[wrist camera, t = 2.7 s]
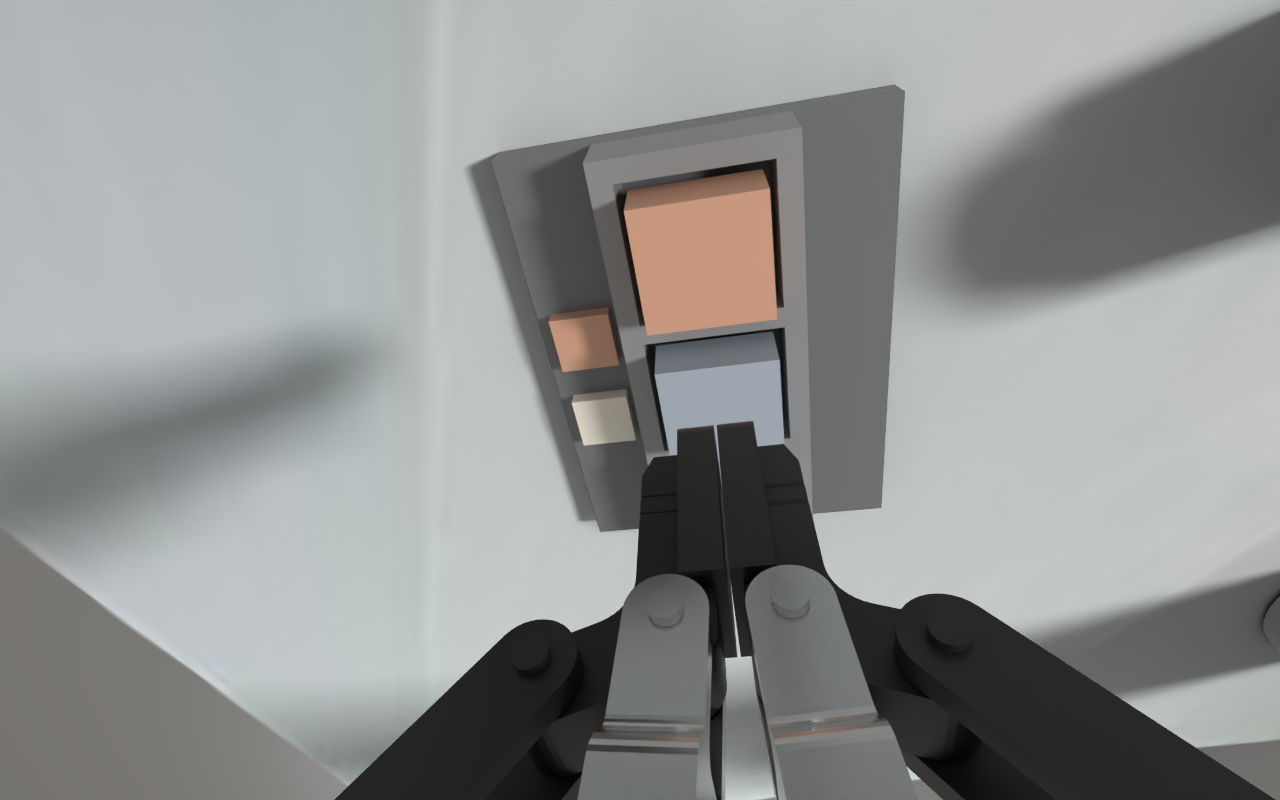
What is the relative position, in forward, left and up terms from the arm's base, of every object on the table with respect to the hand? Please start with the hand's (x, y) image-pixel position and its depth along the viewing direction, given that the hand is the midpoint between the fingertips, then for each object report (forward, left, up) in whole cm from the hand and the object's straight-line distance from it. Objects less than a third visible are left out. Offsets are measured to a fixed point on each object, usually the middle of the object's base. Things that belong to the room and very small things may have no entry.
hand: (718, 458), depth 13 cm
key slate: (0, +6, -11) cm, 13 cm away
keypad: (0, +6, -14) cm, 16 cm away
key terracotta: (0, 0, -11) cm, 11 cm away
